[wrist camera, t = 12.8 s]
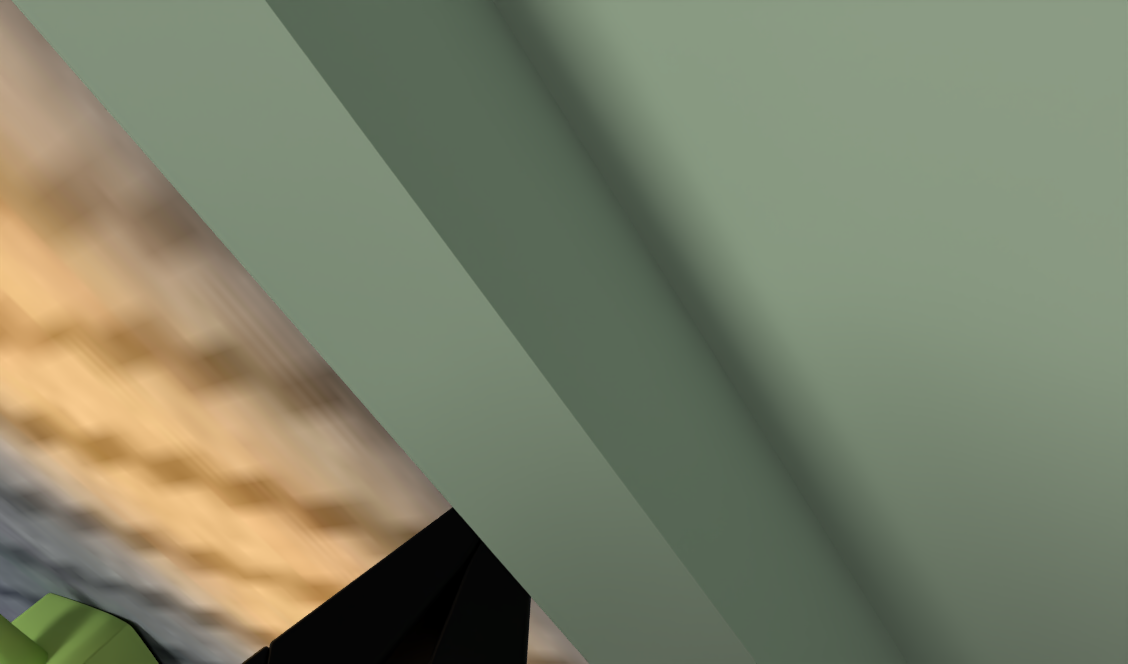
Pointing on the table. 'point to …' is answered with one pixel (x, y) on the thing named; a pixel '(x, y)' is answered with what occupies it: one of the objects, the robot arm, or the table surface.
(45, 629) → the gearbox
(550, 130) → the sliding lid
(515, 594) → the robot arm
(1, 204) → the table surface
